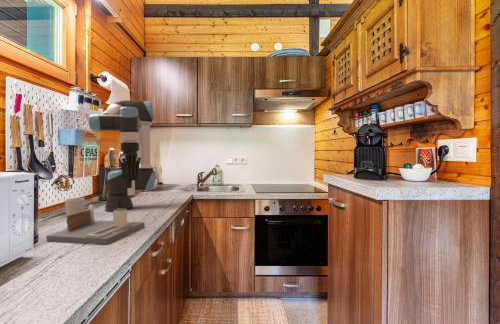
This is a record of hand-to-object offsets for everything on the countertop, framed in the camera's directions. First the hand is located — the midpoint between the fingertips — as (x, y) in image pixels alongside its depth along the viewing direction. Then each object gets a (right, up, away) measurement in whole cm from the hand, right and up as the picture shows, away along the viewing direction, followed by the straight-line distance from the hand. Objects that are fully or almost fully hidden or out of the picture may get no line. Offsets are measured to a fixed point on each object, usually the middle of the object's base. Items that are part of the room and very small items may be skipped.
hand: (131, 194), depth 124 cm
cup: (-28, -15, +4) cm, 32 cm away
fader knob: (-2, -12, -7) cm, 14 cm away
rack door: (-20, -13, -7) cm, 24 cm away
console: (-9, -15, -10) cm, 20 cm away
